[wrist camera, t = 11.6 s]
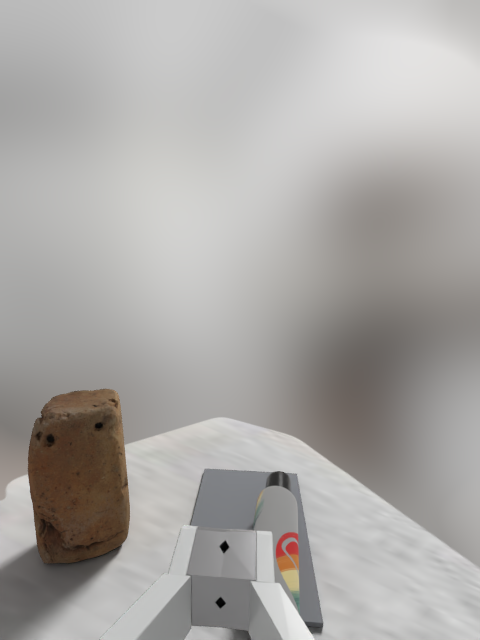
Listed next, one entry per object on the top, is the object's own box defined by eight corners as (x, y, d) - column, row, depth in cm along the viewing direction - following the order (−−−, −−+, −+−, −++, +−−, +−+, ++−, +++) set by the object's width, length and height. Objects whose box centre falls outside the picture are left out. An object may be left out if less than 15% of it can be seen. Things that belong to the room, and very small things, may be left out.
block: (129, 507, 46) (121, 382, 42) (132, 550, 39) (123, 407, 35) (45, 530, 42) (27, 394, 38) (33, 583, 35) (9, 425, 31)
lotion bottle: (312, 633, 28) (304, 485, 48) (273, 586, 28) (281, 457, 47) (264, 655, 29) (275, 502, 49) (227, 610, 29) (253, 475, 49)
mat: (322, 627, 31) (323, 623, 31) (169, 614, 32) (169, 610, 32) (296, 476, 53) (296, 473, 53) (204, 471, 54) (204, 468, 54)
